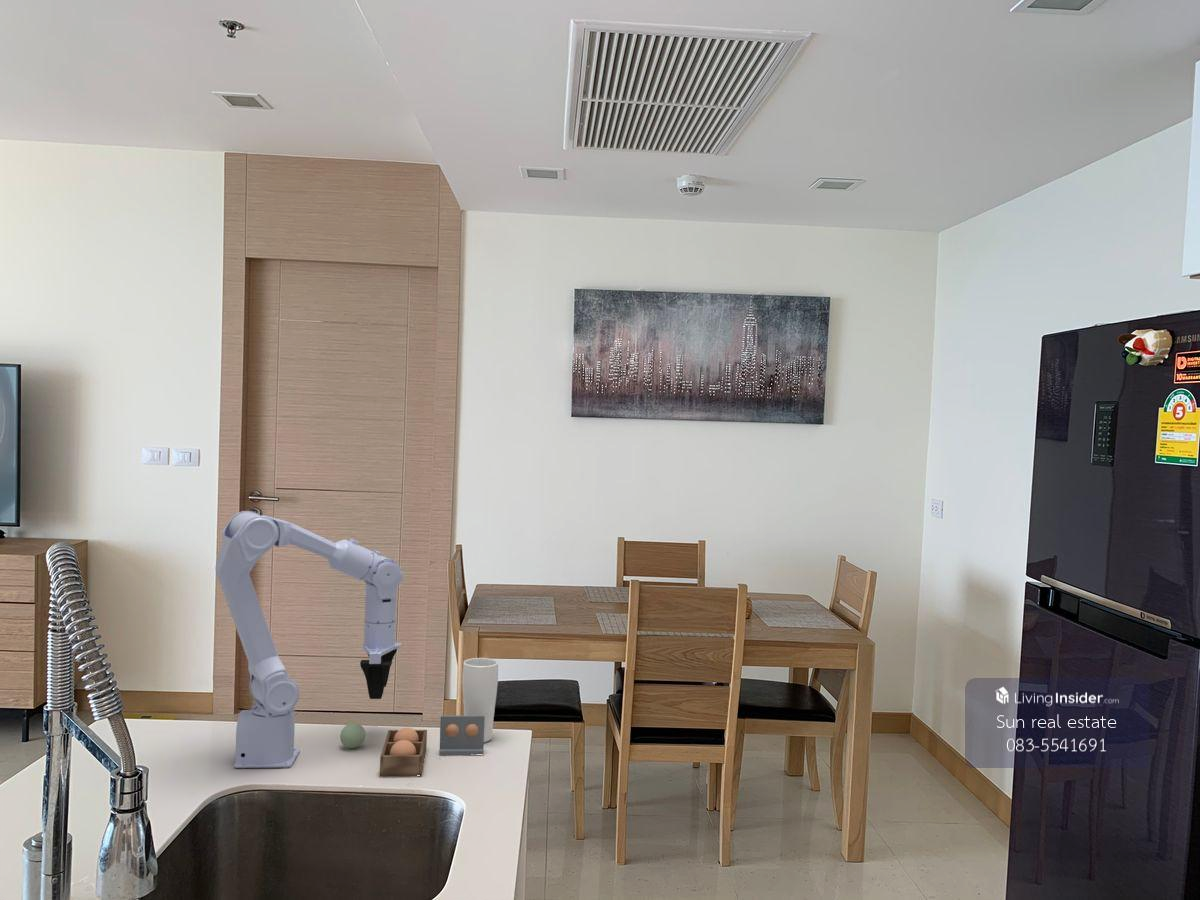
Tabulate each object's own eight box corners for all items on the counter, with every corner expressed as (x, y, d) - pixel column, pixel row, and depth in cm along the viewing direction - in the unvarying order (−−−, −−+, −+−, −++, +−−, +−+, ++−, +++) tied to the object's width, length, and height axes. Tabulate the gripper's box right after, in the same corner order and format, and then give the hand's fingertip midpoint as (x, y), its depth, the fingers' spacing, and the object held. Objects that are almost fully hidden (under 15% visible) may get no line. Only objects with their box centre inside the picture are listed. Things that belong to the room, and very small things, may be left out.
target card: (439, 755, 167) (440, 718, 166) (439, 749, 170) (441, 713, 169) (483, 755, 168) (484, 718, 167) (483, 749, 171) (484, 713, 170)
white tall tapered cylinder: (478, 748, 171) (480, 668, 171) (452, 739, 175) (455, 661, 175) (503, 739, 177) (505, 662, 176) (478, 731, 181) (480, 655, 180)
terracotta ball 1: (391, 757, 164) (392, 732, 163) (394, 748, 168) (395, 724, 168) (417, 757, 164) (418, 732, 164) (419, 748, 169) (420, 724, 168)
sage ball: (338, 752, 166) (338, 727, 166) (341, 743, 171) (342, 719, 171) (363, 751, 167) (364, 727, 167) (366, 743, 172) (367, 719, 171)
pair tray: (379, 776, 156) (380, 756, 156) (387, 748, 169) (388, 730, 169) (421, 776, 157) (422, 756, 156) (426, 748, 170) (427, 729, 170)
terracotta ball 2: (388, 771, 157) (388, 746, 157) (390, 760, 162) (391, 736, 161) (414, 771, 158) (415, 746, 157) (416, 760, 162) (417, 735, 162)
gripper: (398, 629, 165) (396, 704, 166) (405, 612, 180) (403, 681, 180) (358, 629, 164) (356, 704, 165) (368, 612, 179) (366, 681, 179)
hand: (378, 692), depth 172 cm, fingers open, 7 cm apart
